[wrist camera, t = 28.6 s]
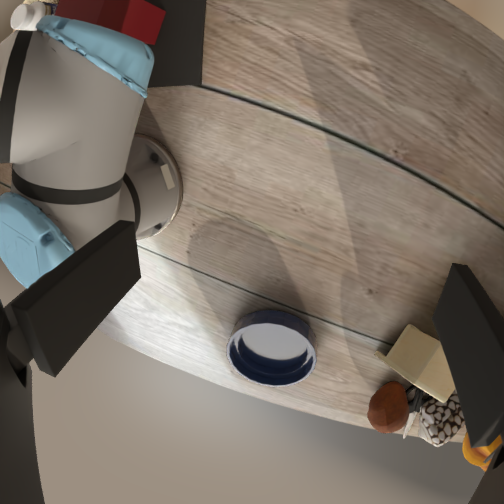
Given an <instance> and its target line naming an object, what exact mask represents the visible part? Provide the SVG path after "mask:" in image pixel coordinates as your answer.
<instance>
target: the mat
mask: <svg viewBox="0 0 504 504" xmlns="http://www.w3.org/2000/svg"><path fill="white" fill-rule="evenodd" d="M145 1H147V2H149V3H151V4H152V5H154V6H156V7H158V8H160V9H162V10H164V11H166V14H165V16H164V19H163V22H162V25H161V28H160V31H159V34H158V37H157V40H156V43H155V45H151V44H147V45H148V46H149V47H150V48H151V50H152V52H153V55H154V65H153V69H152V72H151V76H150V79H149V83H148V87H147V88H151V87H165V86H185V85H201V81H202V58H203V39H204V22H205V8H206V0H145Z"/></svg>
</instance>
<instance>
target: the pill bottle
mask: <svg viewBox="0 0 504 504" xmlns="http://www.w3.org/2000/svg"><path fill="white" fill-rule="evenodd" d="M57 6H58V5H57V4H52V3H46V2H39V1H37V2H33V3H31V4H30V5H29V4H21V5H19V6H18V7H17V8H16V9H15V11H14V12H13V14H12V17H11V27H12V28H13V29H18V30H20V29H21V30H29V31H35V30H36V31H37V29H36V28H35V27H36V24H37V23H38V22H39V21H40V19H41V18H42V17H44V16H46V15H55V12H56V9H57Z"/></svg>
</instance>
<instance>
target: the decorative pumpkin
mask: <svg viewBox="0 0 504 504" xmlns="http://www.w3.org/2000/svg"><path fill="white" fill-rule="evenodd" d="M501 443H502V440H501V436H500V435H499V436H498V437H497V438H496V439H495V440H494V441H493V442H492V443H491V444H490V445H489V446H484V447H477V448H471V446H470V442H469V437H468V433H466V435H465V438H464V441H463V448H462V450H463V454H464V457H465V458H466V459H467V460H468V461H469V462H470V463H471V464H474V465H477V466H480V467H481V468H482V469H483V470H484V471H485V472H486V470H487V468H488V466H489V464H490V462H491V460H492V459H490V460H489V461H488V462H487V463H486V464H485V463H483V462H484V460H485V459H486V458H487V457H488V456H489V455H490V454H491V453H492V452H493V451H494V450H495V449H496V448H497V447H498V446H499V445H500V444H501Z"/></svg>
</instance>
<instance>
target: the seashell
mask: <svg viewBox="0 0 504 504" xmlns="http://www.w3.org/2000/svg"><path fill="white" fill-rule="evenodd" d="M464 425H465V421H464V417H463V413H462V409H461V406H460V402H459V399H458V395H457V393H456V392H455V390H454V391H453V393H452V394H451V395H450V397H449V398H448V400H447V401H446V402H445V403H442V402H441V401H439V400H438V399H436V398H433V399H431V400H429V401H427V402H426V403H424V404H423V405H422V406H421V407H420V415H419V431H418V436H420V437H421V438H423V439H425V440H426V441H427V442H429V443H430V444H433V445H434V446H436V447H439V446H442V445H443V444H445V443H446V442H448V441H449V440H450V439H451V438H452V437H453V436H455V435H456V434H457V432H458V431H459V430H460V429H461V428H462V427H463V426H464Z"/></svg>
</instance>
